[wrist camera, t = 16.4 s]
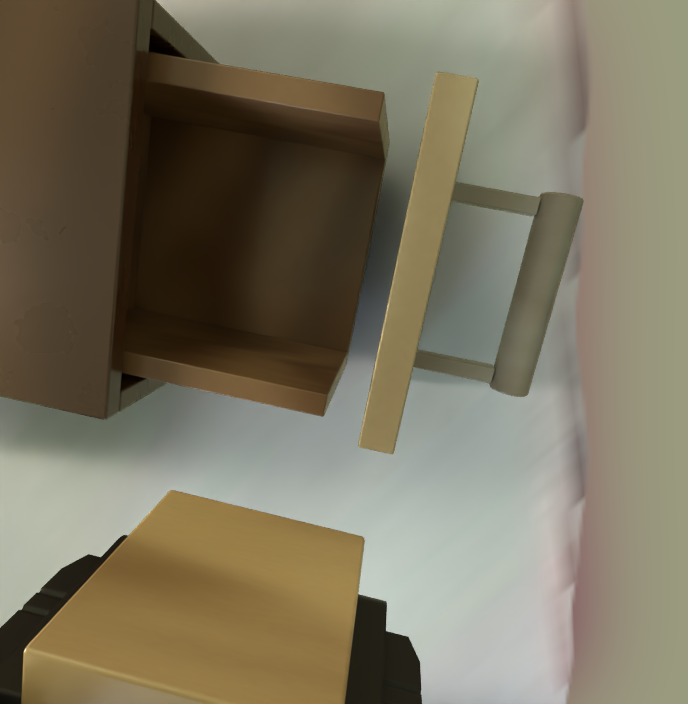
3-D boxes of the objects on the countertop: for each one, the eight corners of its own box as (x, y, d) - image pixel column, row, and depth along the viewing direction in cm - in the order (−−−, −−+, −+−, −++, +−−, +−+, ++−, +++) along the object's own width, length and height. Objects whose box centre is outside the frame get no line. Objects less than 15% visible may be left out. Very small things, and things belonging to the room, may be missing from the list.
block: (327, 696, 11) (285, 961, 7) (150, 649, 11) (9, 877, 7) (366, 536, 10) (341, 736, 6) (170, 487, 10) (20, 649, 6)
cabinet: (248, 91, 22) (139, -17, 13) (214, 355, 25) (105, 420, 16) (-49, 39, 23) (-347, -96, 14) (-49, 299, 26) (-296, 330, 17)
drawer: (556, 155, 21) (646, 105, 13) (488, 407, 23) (531, 486, 16) (150, 84, 22) (18, 0, 14) (129, 331, 25) (8, 370, 17)
